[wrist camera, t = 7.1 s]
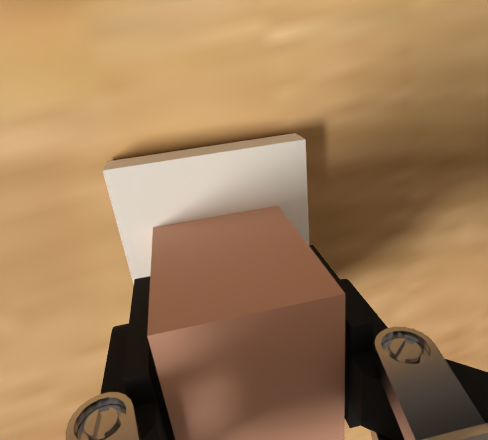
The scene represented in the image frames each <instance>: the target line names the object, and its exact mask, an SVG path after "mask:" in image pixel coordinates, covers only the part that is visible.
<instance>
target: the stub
mask: <svg viewBox="0 0 488 440" xmlns="http://www.w3.org/2000/svg"><path fill="white" fill-rule="evenodd" d="M103 174H104V177H105V181H106V185H107V188H108V192H109V196H110V199H111V203H112V207H113V211H114V214H115V218H116V222H117V225H118V229H119V233H120V236H121V240H122V244H123V247H124V251H125V255H126V258H127V262H128V266H129V270H130V273H131V277H132V281H133V284H134V280H135V279H137V278H143V277H148V276H150V293H149V312H148V331H147V337H148V340H149V344H150V348H151V352H152V355H153V359H154V363H155V366H156V370H157V374H158V377H159V381H160V385H161V388H162V392H163V396H164V399H165V403H166V407H167V411H168V414H169V418H170V422H171V425H172V429H173V433H174V436H175V440H344V413H345V292H344V291H343V290H342V289H341V287H340V286H339V285H338V283H337V282H336V281H335V279H334V278H333V277H332V275H331V274H330V273H329V272H328V270H327V269H326V268H325V266H324V265H323V264H322V262H321V261H320V260H319V258H318V257H317V256H316V254H315V253H314V252H313V251H312V249H311V248H310V247H309V219H308V192H307V166H306V139H304V138H302V137H301V136H299V135H297V134H296V133H293V134H286V135H279V136H273V137H266V138H259V139H253V140H246V141H240V142H233V143H226V144H220V145H213V146H206V147H200V148H193V149H187V150H180V151H173V152H167V153H160V154H153V155H147V156H140V157H133V158H127V159H120V160H114V161H107V163H106V165H105V167H104V169H103Z"/></svg>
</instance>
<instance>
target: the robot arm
mask: <svg viewBox="0 0 488 440" xmlns="http://www.w3.org/2000/svg"><path fill="white" fill-rule="evenodd" d="M309 247H310V248H311V249H312V251H313V252H314V253H315V254H316V256H317V257H318V258H319V260H320V261H321V262H322V264H323V265H324V266H325V268H326V269H327V270H328V272H329V273H330V274H331V275H332V277H333V278H334V279H335V281H336V282H337V283H338V285H339V286H340V287H341V289H342V290H343V291H344V292H345V413H344V417H345V419H346V421H347V423H348V425H349V427H350V428H353V427H356V426H360V425H361V426H363V427H365V428H367V429H369V430H371V436H372V439H373V440H488V372H485V371H482V370H479V369H475V368H472V367H469V366H466V365H463V364H460V363H456V362H453V361H450V360H447V359H444V357H443V356H442V354H441V353H440V351H439V349H438V348H437V346H436V345H435V343H434V342H433V341H432V340H431V339H430V338H429V337H428V336H426V335H425V334H423V333H422V332H419V331H417V330H415V329H411V328H406V327H391V328H388V327H387V326H386V325H385V324H384V323H383V321H382V320H381V319H380V318H379V317H378V315H377V314H376V313H375V312H374V310H373V309H372V308H371V307H370V306H369V304H368V303H367V302H366V301H365V299H364V298H363V297H362V296H361V295H360V293H359V292H358V291H357V290H356V288H355V287H354V286H353V285H352V284H351V282H350V281H349V280H347V279H341V280H340V279H339V278H338V277H337V275H336V274H335V273H334V271H333V270H332V269H331V268H330V266H329V265H328V264H327V262H326V261H325V260H324V259H323V257H322V256H321V255H320V254H319V252H318V251H317V250H316V248H315V247H314V246H313V245H309ZM149 293H150V276H148V277H143V278H137V279H135V280H134V287H133V296H132V304H131V312H130V320H129V324H124V325H120V326H115V327H113V329H112V333H111V339H110V344H109V350H108V356H107V361H106V367H105V372H104V378H103V383H102V389H101V394H99V395H97V396H95V397H93V398H91V399H89V400H88V401H86V402H85V403H84V404H82V405H81V406H80V407H79V408H78V409H77V410H76V411H75V412H74V414H73V415H72V417H71V419H70V420H69V422H68V425H67V430H66V440H175V436H174V433H173V429H172V425H171V422H170V418H169V414H168V411H167V407H166V403H165V399H164V396H163V392H162V388H161V385H160V381H159V377H158V374H157V370H156V366H155V363H154V359H153V355H152V352H151V348H150V344H149V340H148V337H147V331H148V312H149Z"/></svg>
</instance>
